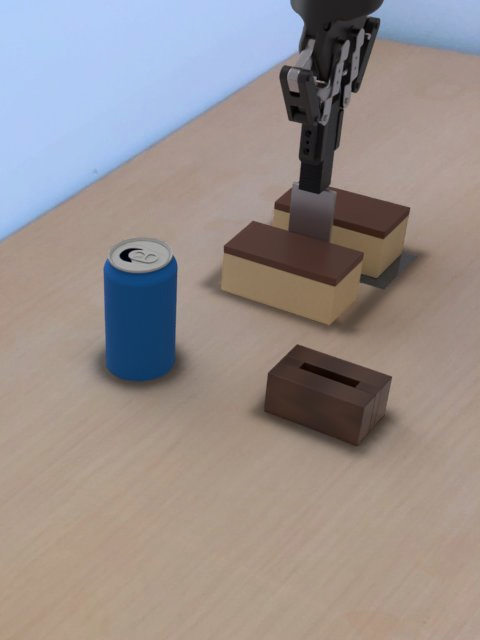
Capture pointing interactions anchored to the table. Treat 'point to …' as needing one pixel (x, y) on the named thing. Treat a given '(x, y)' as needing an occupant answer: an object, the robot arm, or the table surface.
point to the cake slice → (291, 271)
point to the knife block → (327, 394)
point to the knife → (316, 189)
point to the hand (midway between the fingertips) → (318, 154)
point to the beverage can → (140, 308)
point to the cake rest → (360, 227)
